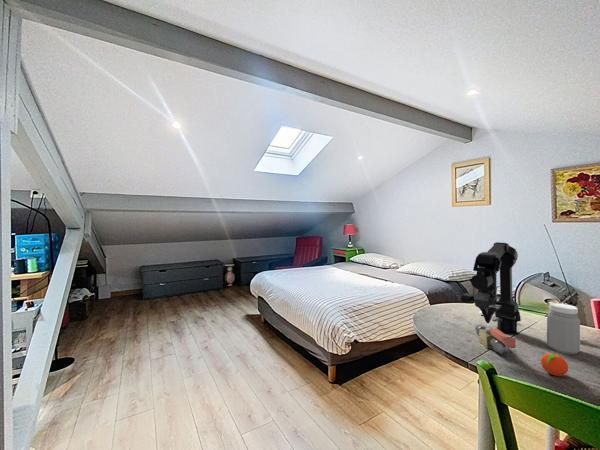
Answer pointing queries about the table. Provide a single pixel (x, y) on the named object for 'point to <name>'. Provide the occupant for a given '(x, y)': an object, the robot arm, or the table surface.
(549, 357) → the clementine
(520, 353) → the table surface
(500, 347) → the pipe valve
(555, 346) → the jar
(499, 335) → the lever
